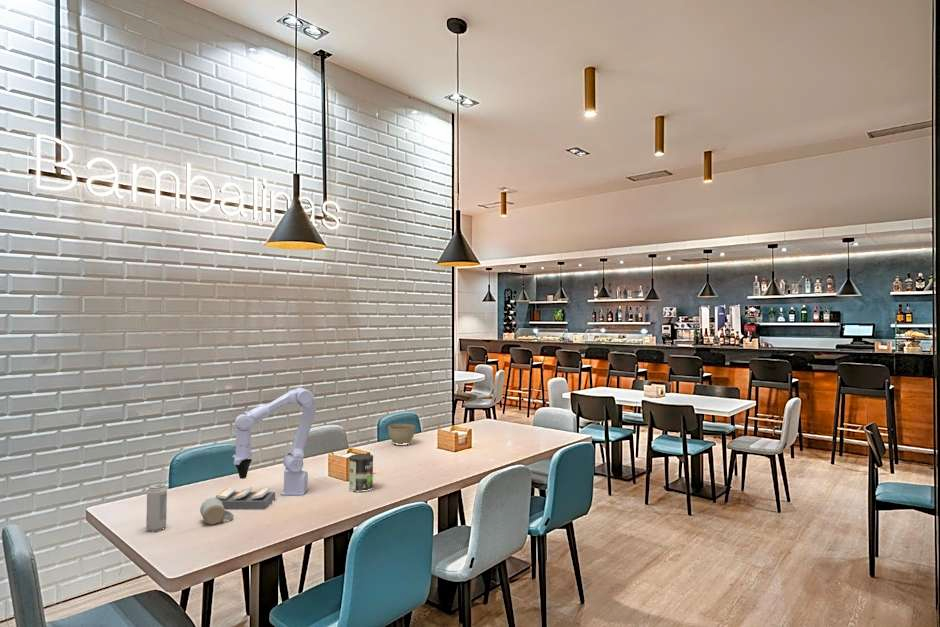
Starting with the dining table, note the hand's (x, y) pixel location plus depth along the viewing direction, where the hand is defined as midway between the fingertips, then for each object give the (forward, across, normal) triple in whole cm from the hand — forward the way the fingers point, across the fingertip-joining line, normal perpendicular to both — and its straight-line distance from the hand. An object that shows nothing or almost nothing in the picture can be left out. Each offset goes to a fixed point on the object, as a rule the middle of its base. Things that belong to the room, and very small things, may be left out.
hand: (243, 478), depth 221 cm
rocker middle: (+5, +5, +2) cm, 7 cm away
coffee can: (+9, -14, +45) cm, 49 cm away
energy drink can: (+9, +31, -18) cm, 37 cm away
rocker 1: (+5, +5, -5) cm, 8 cm away
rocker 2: (+5, +5, +9) cm, 11 cm away
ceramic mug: (+9, +23, -1) cm, 25 cm away
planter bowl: (+10, -101, +56) cm, 116 cm away
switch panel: (+9, +5, +2) cm, 10 cm away
